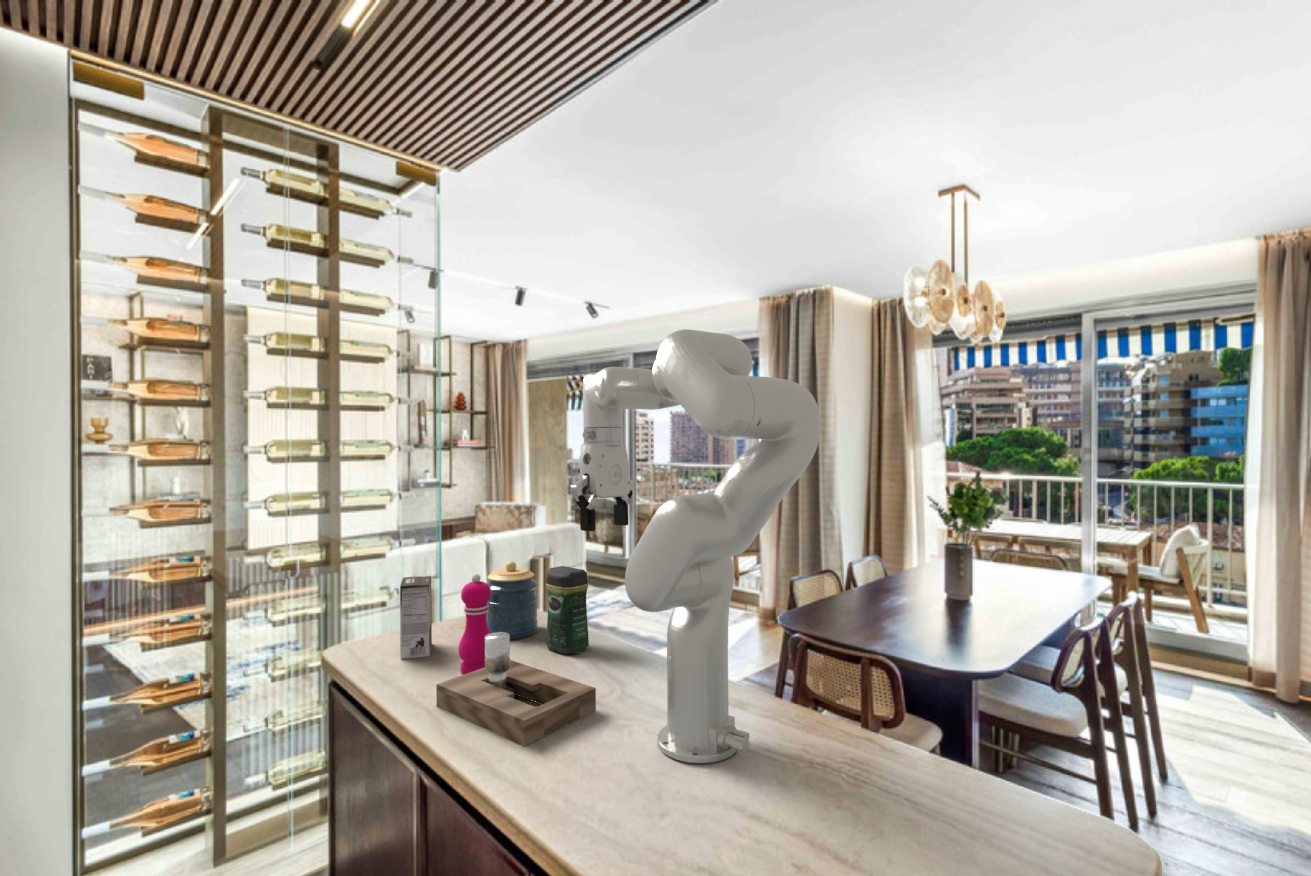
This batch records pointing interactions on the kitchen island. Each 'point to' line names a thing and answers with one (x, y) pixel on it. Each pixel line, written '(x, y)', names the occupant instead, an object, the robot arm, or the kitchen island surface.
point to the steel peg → (498, 659)
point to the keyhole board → (517, 702)
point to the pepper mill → (474, 625)
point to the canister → (512, 602)
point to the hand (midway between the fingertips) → (605, 527)
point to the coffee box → (415, 617)
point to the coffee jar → (567, 610)
